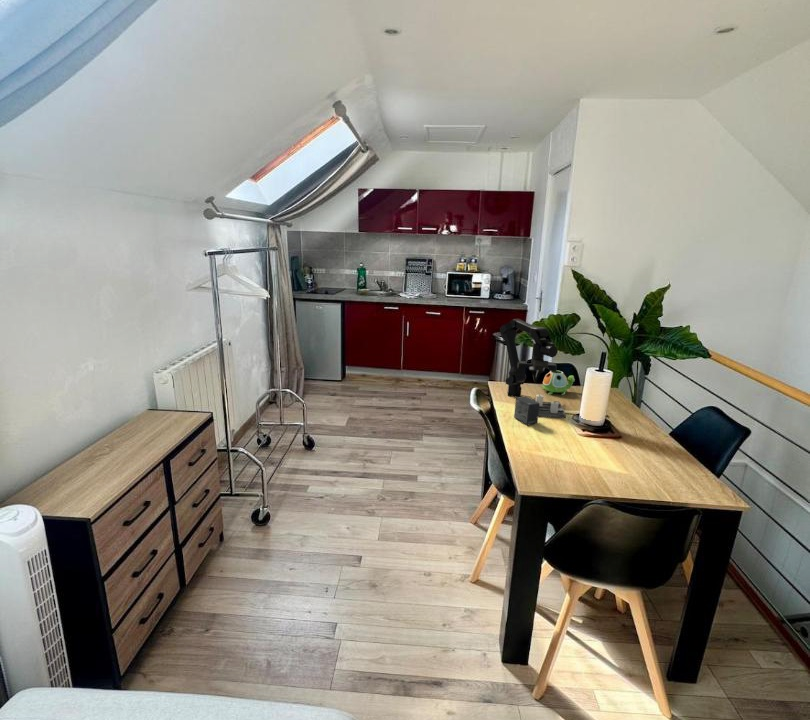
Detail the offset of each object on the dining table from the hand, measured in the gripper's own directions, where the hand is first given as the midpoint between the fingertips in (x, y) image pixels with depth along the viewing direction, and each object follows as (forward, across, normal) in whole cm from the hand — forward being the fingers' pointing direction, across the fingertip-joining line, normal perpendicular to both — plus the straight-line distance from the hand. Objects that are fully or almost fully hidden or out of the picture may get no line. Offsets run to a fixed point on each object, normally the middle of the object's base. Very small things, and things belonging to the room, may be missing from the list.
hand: (535, 382), depth 236 cm
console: (+12, +6, -8) cm, 16 cm away
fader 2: (+10, +8, -15) cm, 19 cm away
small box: (+12, -6, -24) cm, 28 cm away
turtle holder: (+12, +15, +24) cm, 31 cm away
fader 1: (+10, +2, -6) cm, 12 cm away
